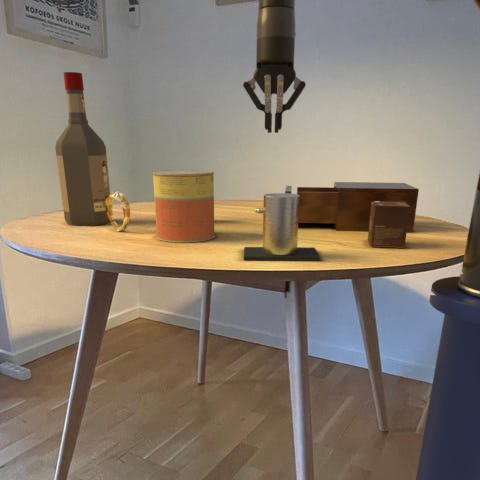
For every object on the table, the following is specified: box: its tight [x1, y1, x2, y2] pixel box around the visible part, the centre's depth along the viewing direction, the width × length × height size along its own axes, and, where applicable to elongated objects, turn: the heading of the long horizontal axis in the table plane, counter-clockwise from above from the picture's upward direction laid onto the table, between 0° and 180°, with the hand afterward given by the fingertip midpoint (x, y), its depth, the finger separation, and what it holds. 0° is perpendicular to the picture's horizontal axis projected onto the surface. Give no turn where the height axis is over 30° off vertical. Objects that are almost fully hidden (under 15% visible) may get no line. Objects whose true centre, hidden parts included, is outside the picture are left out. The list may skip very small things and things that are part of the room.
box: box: [367, 201, 410, 249], centre depth 83 cm, size 6×6×7 cm
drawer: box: [284, 185, 339, 224], centre depth 103 cm, size 18×12×7 cm
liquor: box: [54, 71, 111, 227], centre depth 100 cm, size 9×9×30 cm
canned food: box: [152, 169, 216, 244], centre depth 89 cm, size 11×11×12 cm
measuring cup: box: [254, 192, 300, 256], centre depth 75 cm, size 7×6×9 cm
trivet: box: [243, 246, 321, 262], centre depth 76 cm, size 12×7×1 cm, turn 89°
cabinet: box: [332, 181, 420, 233], centre depth 101 cm, size 16×14×9 cm
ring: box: [105, 190, 131, 232], centre depth 94 cm, size 7×3×8 cm, turn 41°
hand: (273, 132), depth 98 cm, fingers closed
